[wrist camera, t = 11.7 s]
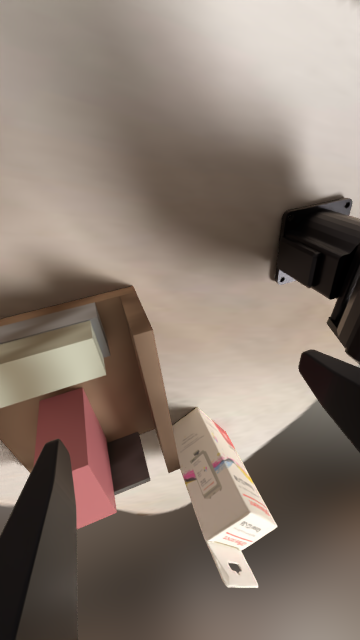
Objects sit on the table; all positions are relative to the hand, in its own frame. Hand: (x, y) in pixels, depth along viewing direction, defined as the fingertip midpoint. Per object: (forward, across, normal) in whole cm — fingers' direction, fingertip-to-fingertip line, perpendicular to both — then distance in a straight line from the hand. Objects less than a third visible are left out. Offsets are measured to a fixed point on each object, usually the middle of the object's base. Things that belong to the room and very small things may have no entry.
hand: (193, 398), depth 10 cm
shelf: (+13, +7, +10) cm, 18 cm away
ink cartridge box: (+13, -4, +24) cm, 28 cm away
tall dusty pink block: (+12, +8, +14) cm, 20 cm away
